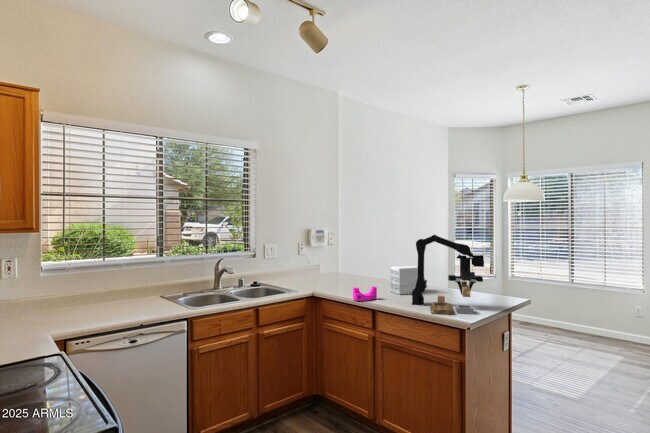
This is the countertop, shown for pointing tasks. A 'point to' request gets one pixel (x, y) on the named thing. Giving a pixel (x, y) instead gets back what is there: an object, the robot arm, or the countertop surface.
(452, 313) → the jig
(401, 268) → the white drawer cabinet
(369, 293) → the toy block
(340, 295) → the countertop surface
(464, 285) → the fuselage
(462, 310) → the tail socket
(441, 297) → the tail block
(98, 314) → the countertop surface
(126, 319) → the countertop surface
